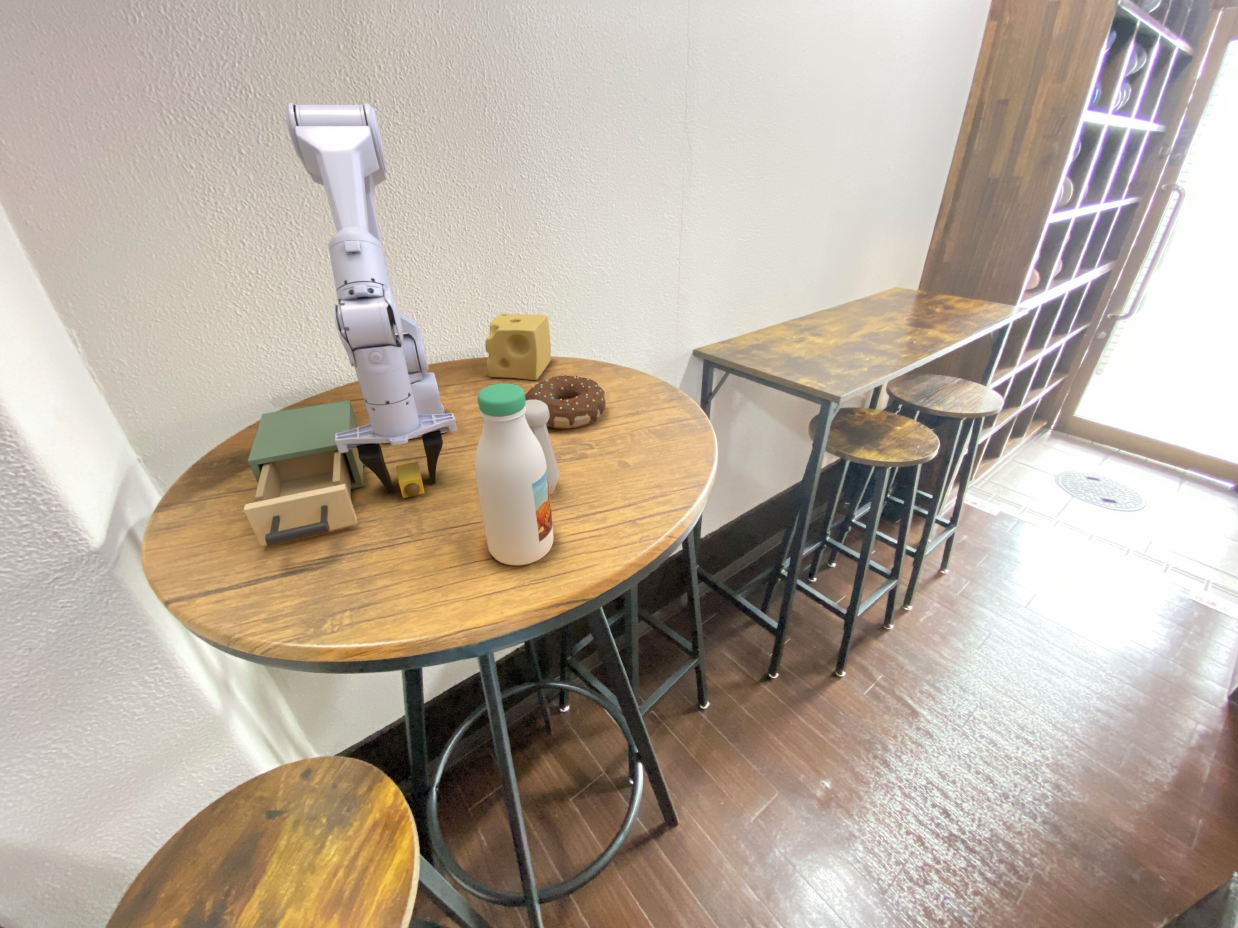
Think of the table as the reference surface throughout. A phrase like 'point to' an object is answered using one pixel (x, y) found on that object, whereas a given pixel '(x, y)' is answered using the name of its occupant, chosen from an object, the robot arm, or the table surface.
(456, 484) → the table surface
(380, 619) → the table surface
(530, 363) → the cheese
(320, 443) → the cabinet
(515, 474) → the milk bottle
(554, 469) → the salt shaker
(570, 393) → the donut
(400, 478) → the yellow knobbed cube
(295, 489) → the drawer
